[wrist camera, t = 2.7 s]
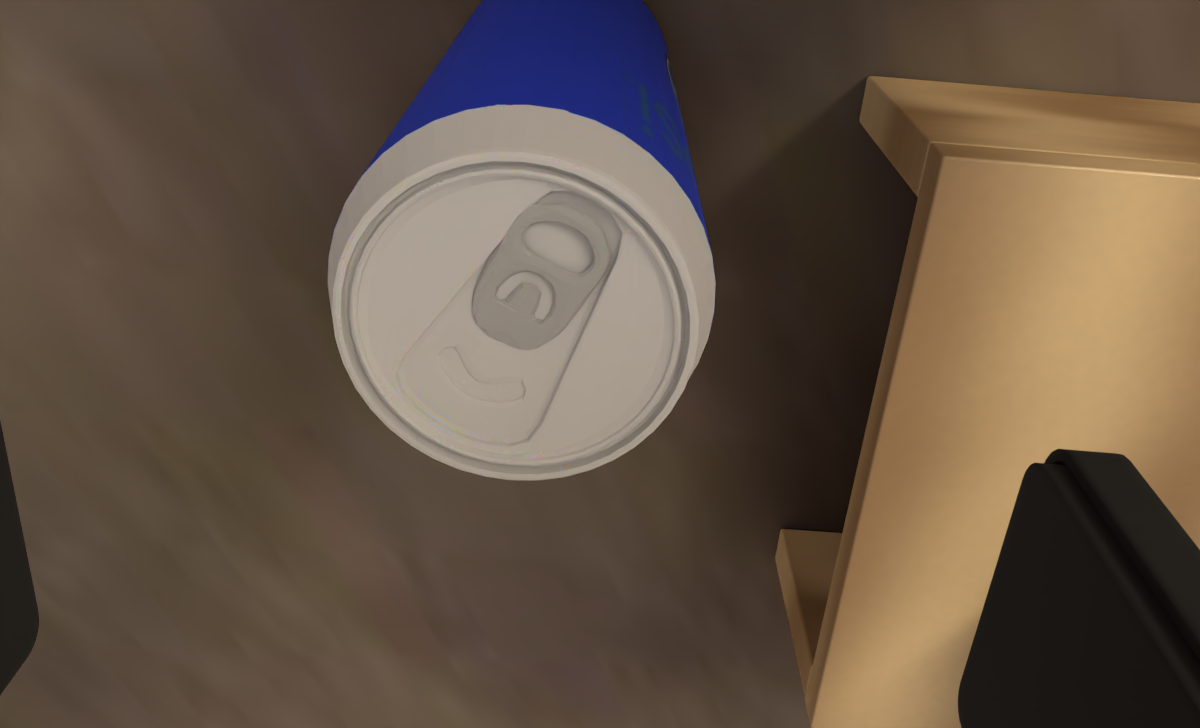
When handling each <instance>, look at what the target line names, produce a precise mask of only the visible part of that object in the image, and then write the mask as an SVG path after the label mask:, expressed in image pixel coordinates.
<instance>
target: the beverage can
mask: <svg viewBox="0 0 1200 728" xmlns="http://www.w3.org/2000/svg"><path fill="white" fill-rule="evenodd" d="M715 286H716V282H715V274H714V266H713V258H712V252H711V248H710V243H709V238H708V234H707V229H706V225H705V220H704V216H703V211H702V207H701V202H700V197H699V193H698V188H697V184H696V179H695V175H694V170H693V166H692V161H691V156H690V152H689V147H688V143H687V138H686V134H685V129H684V125H683V120H682V116H681V111H680V106H679V102H678V97H677V93H676V88H675V84H674V79H673V75H672V70H671V65H670V61H669V56H668V52H667V48H666V45H665V41H664V38H663V34H662V32H661V30H660V28H659V26H658V24H657V22H656V19H655V18H654V16H653V15H652V13H651V12H650V10H649V9H648V7H647V6H646V4H645V3H644V2H643V1H642V0H483V1H482V2H481V3H480V4H479V6H478V7H477V8H476V10H475V11H474V13H473V14H472V16H471V17H470V19H469V20H468V22H467V23H466V24H465V26H464V27H463V29H462V30H461V32H460V33H459V35H458V36H457V38H456V39H455V41H454V42H453V43H452V45H451V46H450V48H449V49H448V51H447V52H446V54H445V55H444V57H443V58H442V59H441V61H440V62H439V64H438V65H437V67H436V68H435V70H434V71H433V73H432V74H431V76H430V77H429V78H428V80H427V81H426V83H425V84H424V86H423V87H422V89H421V90H420V92H419V93H418V94H417V96H416V97H415V99H414V100H413V102H412V103H411V105H410V106H409V108H408V109H407V110H406V112H405V113H404V115H403V116H402V118H401V119H400V121H399V122H398V124H397V125H396V127H395V128H394V129H393V131H392V132H391V134H390V135H389V137H388V138H387V140H386V141H385V143H384V144H383V145H382V147H381V148H380V150H379V151H378V153H377V154H376V156H375V157H374V159H373V160H372V162H371V163H370V164H369V166H368V167H367V169H366V170H365V172H364V173H363V175H362V176H361V178H360V179H359V181H358V182H357V184H356V186H355V187H354V189H353V190H352V192H351V193H350V195H349V197H348V198H347V200H346V202H345V204H344V206H343V209H342V211H341V214H340V216H339V219H338V221H337V224H336V226H335V229H334V234H333V238H332V243H331V247H330V252H329V262H328V291H329V298H330V306H331V313H332V318H333V325H334V333H335V339H336V342H337V346H338V349H339V352H340V355H341V358H342V362H343V364H344V366H345V368H346V370H347V372H348V374H349V376H350V378H351V380H352V382H353V384H354V386H355V388H356V390H357V391H358V392H359V394H360V395H361V396H362V398H363V399H364V401H365V402H366V404H367V405H368V406H369V408H370V409H371V410H372V411H373V412H374V413H375V414H376V415H377V416H378V418H379V419H380V420H381V421H382V422H383V423H384V424H385V425H386V426H387V427H388V428H389V429H390V430H392V431H393V432H394V433H395V434H397V435H398V436H399V437H401V438H402V439H403V440H404V441H406V442H407V443H408V444H409V445H411V446H413V447H414V448H416V449H418V450H419V451H421V452H423V453H425V454H426V455H428V456H430V457H431V458H433V459H435V460H438V461H440V462H442V463H445V464H447V465H449V466H452V467H454V468H457V469H459V470H463V471H467V472H470V473H474V474H477V475H481V476H485V477H492V478H499V479H507V480H545V479H553V478H561V477H566V476H570V475H574V474H578V473H582V472H585V471H589V470H591V469H594V468H596V467H599V466H601V465H603V464H606V463H608V462H610V461H613V460H615V459H616V458H618V457H619V456H621V455H623V454H624V453H626V452H628V451H629V450H631V449H633V448H634V447H636V446H637V445H638V444H639V443H640V442H642V441H643V440H644V439H645V438H646V437H648V436H649V435H650V434H651V433H652V432H654V431H655V429H656V428H657V427H658V426H659V425H660V424H661V423H662V421H663V420H664V419H665V418H666V417H667V416H668V414H669V413H670V412H671V411H672V409H673V407H674V406H675V404H676V402H677V401H678V399H679V397H680V396H681V394H682V393H683V391H684V389H685V386H686V384H687V381H688V379H689V378H690V376H691V374H692V373H693V371H694V369H695V368H696V366H697V365H698V362H699V360H700V358H701V355H702V353H703V350H704V348H705V345H706V343H707V340H708V338H709V333H710V329H711V324H712V319H713V315H714V307H715Z"/></svg>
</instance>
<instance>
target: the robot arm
mask: <svg viewBox="0 0 1200 728" xmlns="http://www.w3.org/2000/svg"><path fill="white" fill-rule="evenodd" d="M38 626H39V614H38V607H37V602H36V597H35V592H34V587H33V582H32V577H31V572H30V567H29V562H28V557H27V552H26V547H25V542H24V537H23V532H22V527H21V522H20V517H19V512H18V507H17V502H16V497H15V492H14V487H13V482H12V477H11V472H10V467H9V462H8V457H7V452H6V447H5V442H4V437H3V432H2V427H1V422H0V695H1V693H2V692H3V691H4V689H5V688H6V686H7V685H8V684H9V682H10V681H11V679H12V678H13V677H14V675H15V674H16V672H17V671H18V670H19V668H20V667H21V665H22V664H23V663H24V661H25V660H26V658H27V657H28V655H29V654H30V652H31V650H32V648H33V646H34V643H35V640H36V637H37V632H38ZM958 714H959V721H960V724H961V728H1200V549H1199V548H1198V547H1197V546H1196V544H1195V543H1194V542H1193V540H1192V539H1191V538H1190V537H1189V535H1188V534H1187V533H1186V531H1185V530H1184V529H1183V528H1182V526H1181V525H1180V524H1179V522H1178V521H1177V520H1176V519H1175V517H1174V516H1173V515H1172V513H1171V512H1170V511H1169V510H1168V508H1167V507H1166V506H1165V505H1164V503H1163V502H1162V501H1161V499H1160V498H1159V497H1158V496H1157V494H1156V493H1155V492H1154V490H1153V489H1152V488H1151V487H1150V485H1149V484H1148V483H1147V481H1146V480H1145V479H1144V478H1143V476H1142V475H1141V474H1140V473H1139V471H1138V470H1137V469H1136V467H1135V466H1134V465H1133V464H1132V462H1131V461H1130V460H1129V459H1128V458H1127V457H1125V456H1124V455H1122V454H1116V453H1105V452H1092V451H1080V450H1067V449H1056V450H1055V451H1053V452H1051V453H1050V455H1049V456H1048V457H1047V459H1046V460H1045V463H1033V464H1031V465H1030V466H1029V467H1028V469H1027V470H1026V472H1025V474H1024V477H1023V479H1022V482H1021V486H1020V489H1019V492H1018V495H1017V499H1016V502H1015V505H1014V509H1013V512H1012V515H1011V518H1010V522H1009V525H1008V528H1007V531H1006V535H1005V538H1004V541H1003V545H1002V548H1001V551H1000V554H999V558H998V561H997V564H996V567H995V571H994V574H993V577H992V581H991V584H990V587H989V590H988V594H987V597H986V600H985V603H984V607H983V610H982V613H981V616H980V620H979V623H978V626H977V630H976V633H975V636H974V639H973V643H972V646H971V649H970V652H969V656H968V659H967V662H966V666H965V669H964V672H963V675H962V679H961V682H960V686H959V691H958Z"/></svg>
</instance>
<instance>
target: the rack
mask: <svg viewBox="0 0 1200 728" xmlns="http://www.w3.org/2000/svg"><path fill="white" fill-rule="evenodd" d="M859 122H860V124H861V125H862V126H863V127H864V129H865V130H866V131H867V133H868V134H869V135H870V137H871V138H872V139H873V140H874V142H875V143H876V144H877V146H878V147H879V148H880V149H881V151H882V152H883V153H884V155H885V156H886V157H887V158H888V160H889V161H890V162H891V164H892V165H893V166H894V168H895V169H896V170H897V171H898V173H899V174H900V175H901V177H902V178H903V179H904V180H905V182H906V183H907V184H908V186H909V187H910V188H911V189H912V191H913V192H914V193H915V195H916V196H917V197H918V199H917V204H916V208H915V213H914V217H913V222H912V226H911V230H910V235H909V239H908V244H907V248H906V253H905V257H904V262H903V266H902V271H901V275H900V279H899V284H898V288H897V293H896V297H895V302H894V306H893V311H892V315H891V319H890V324H889V328H888V333H887V337H886V342H885V346H884V351H883V355H882V359H881V364H880V368H879V373H878V377H877V382H876V386H875V391H874V395H873V400H872V404H871V408H870V413H869V417H868V422H867V426H866V431H865V435H864V440H863V444H862V448H861V453H860V457H859V462H858V466H857V471H856V475H855V480H854V484H853V488H852V493H851V497H850V502H849V506H848V511H847V515H846V520H845V524H844V529H843V533H833V532H819V531H805V530H792V529H781V531H780V535H779V540H778V545H777V551H776V556H775V561H776V565H777V570H778V575H779V579H780V584H781V589H782V594H783V598H784V603H785V608H786V612H787V617H788V622H789V626H790V631H791V636H792V641H793V645H794V650H795V655H796V659H797V664H798V669H799V673H800V678H801V683H802V688H803V692H804V696H805V703H806V708H807V713H808V717H809V722H810V726H811V728H961V724H960V721H959V714H958V691H959V686H960V682H961V679H962V675H963V672H964V669H965V666H966V662H967V659H968V656H969V652H970V649H971V646H972V643H973V639H974V636H975V633H976V630H977V626H978V623H979V620H980V616H981V613H982V610H983V607H984V603H985V600H986V597H987V594H988V590H989V587H990V584H991V581H992V577H993V574H994V571H995V567H996V564H997V561H998V558H999V554H1000V551H1001V548H1002V545H1003V541H1004V538H1005V535H1006V531H1007V528H1008V525H1009V522H1010V518H1011V515H1012V512H1013V509H1014V505H1015V502H1016V499H1017V495H1018V492H1019V489H1020V486H1021V482H1022V479H1023V477H1024V474H1025V472H1026V470H1027V469H1028V467H1029V466H1030V465H1031V464H1033V463H1045V460H1046V459H1047V457H1048V456H1049V455H1050V453H1051V452H1053V451H1055V450H1056V449H1067V450H1080V451H1092V452H1105V453H1116V454H1122V455H1124V456H1125V457H1127V458H1128V459H1129V460H1130V461H1131V462H1132V464H1133V465H1134V466H1135V467H1136V469H1137V470H1138V471H1139V473H1140V474H1141V475H1142V476H1143V478H1144V479H1145V480H1146V481H1147V483H1148V484H1149V485H1150V487H1151V488H1152V489H1153V490H1154V492H1155V493H1156V494H1157V496H1158V497H1159V498H1160V499H1161V501H1162V502H1163V503H1164V505H1165V506H1166V507H1167V508H1168V510H1169V511H1170V512H1171V513H1172V515H1173V516H1174V517H1175V519H1176V520H1177V521H1178V522H1179V524H1180V525H1181V526H1182V528H1183V529H1184V530H1185V531H1186V533H1187V534H1188V535H1189V537H1190V538H1191V539H1192V540H1193V542H1194V543H1195V544H1196V546H1197V547H1198V548H1199V549H1200V103H1188V102H1177V101H1165V100H1153V99H1141V98H1129V97H1117V96H1105V95H1093V94H1081V93H1069V92H1057V91H1046V90H1034V89H1022V88H1010V87H998V86H986V85H974V84H962V83H950V82H938V81H926V80H914V79H903V78H891V77H879V76H869V77H868V78H867V82H866V87H865V92H864V97H863V102H862V108H861V113H860V118H859Z"/></svg>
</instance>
